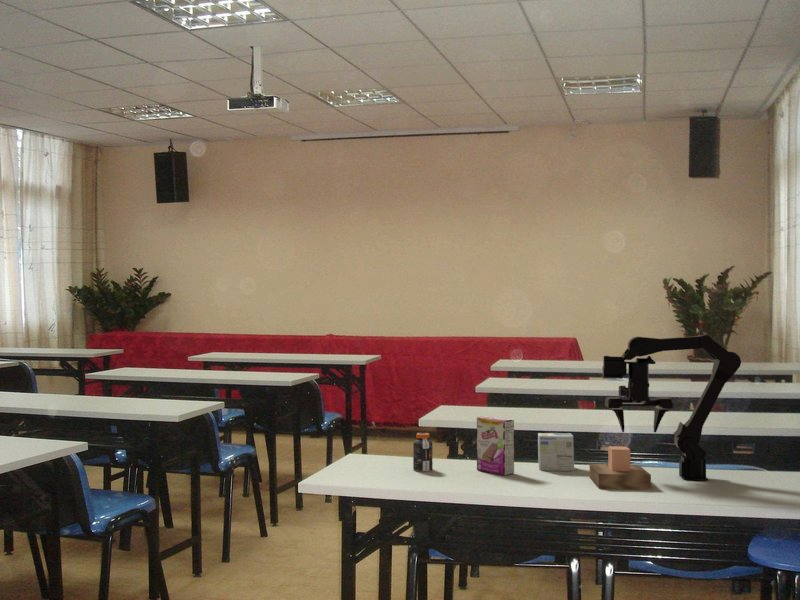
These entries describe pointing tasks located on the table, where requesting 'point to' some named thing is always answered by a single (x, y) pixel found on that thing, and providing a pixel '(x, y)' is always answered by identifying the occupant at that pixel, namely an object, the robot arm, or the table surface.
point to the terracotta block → (619, 458)
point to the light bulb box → (556, 451)
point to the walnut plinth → (620, 477)
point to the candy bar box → (495, 445)
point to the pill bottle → (422, 453)
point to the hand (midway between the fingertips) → (638, 432)
